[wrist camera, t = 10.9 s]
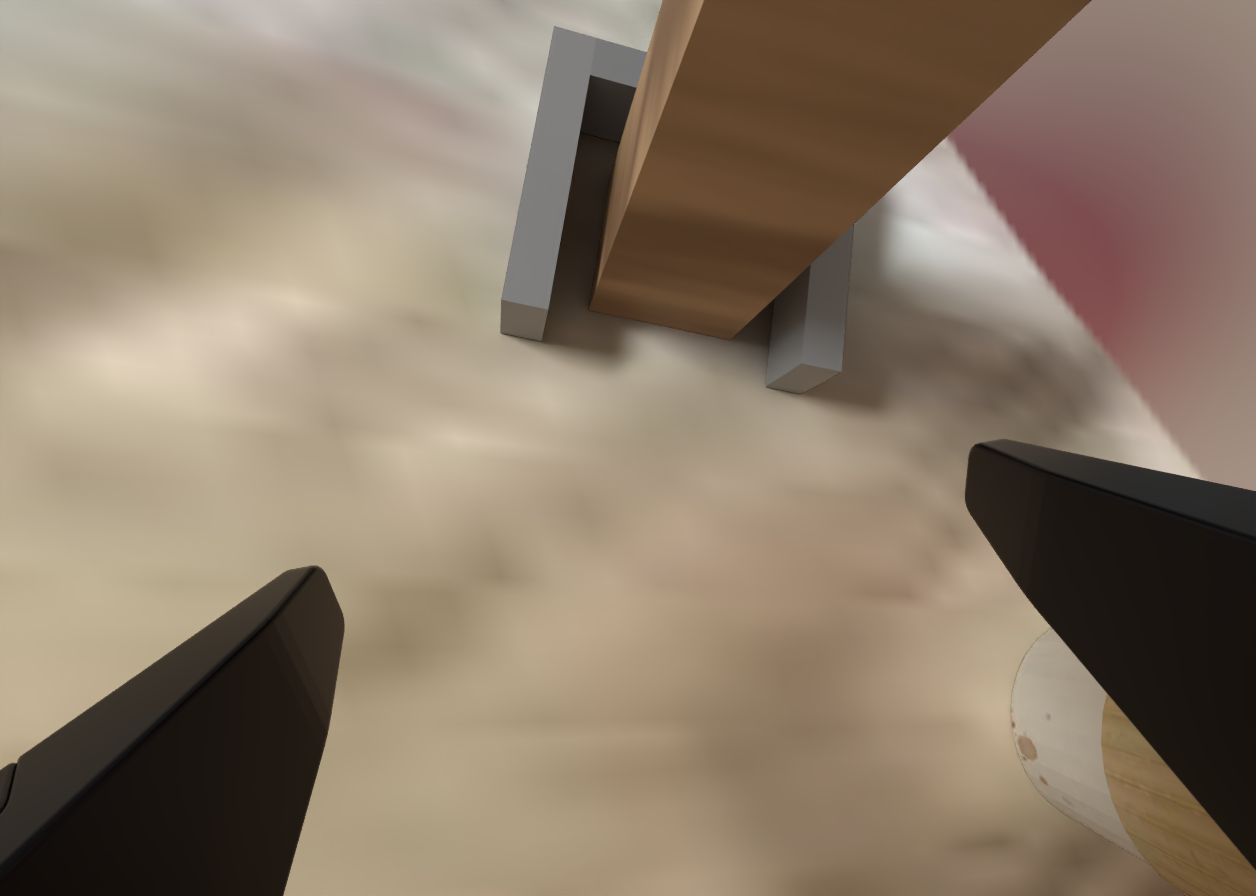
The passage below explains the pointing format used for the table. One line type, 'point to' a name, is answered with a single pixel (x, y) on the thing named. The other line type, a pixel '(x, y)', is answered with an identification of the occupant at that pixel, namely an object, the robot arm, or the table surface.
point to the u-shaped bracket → (599, 105)
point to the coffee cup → (1115, 776)
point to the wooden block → (785, 138)
